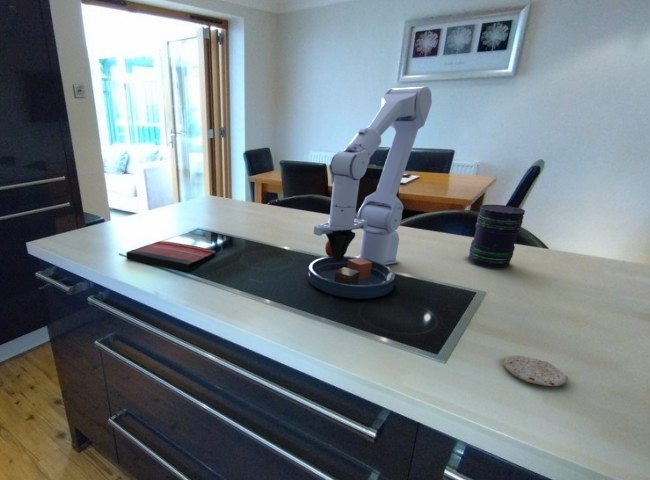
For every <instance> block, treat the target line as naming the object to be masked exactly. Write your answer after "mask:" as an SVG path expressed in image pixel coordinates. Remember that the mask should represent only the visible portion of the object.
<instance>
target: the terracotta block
mask: <svg viewBox="0 0 650 480" xmlns="http://www.w3.org/2000/svg"><path fill="white" fill-rule="evenodd" d="M371 267H372V262H370V261H368V260H365V259H363V258H361V257H360V258H355V259H349V260H348V265H347V268H349V269H353V270H356V271H359V272H360V274H359V280H361V279H365V278H370V274H371Z"/></svg>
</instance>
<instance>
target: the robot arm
mask: <svg viewBox="0 0 650 480" xmlns="http://www.w3.org/2000/svg"><path fill="white" fill-rule="evenodd" d="M432 105H433V99H432V91H431V89H430V87H429V86H427V85H424V86H421V87H420V86H418V87H400V88H394V87H391V88H388V89H387V91H386V92H385V93H384V95H383V96H382V97H381V103H380V108H379V110H378V112H377V113H376V115H375V117H374V118H373V119H372V121H371V123H370V124H369V125H368V126H366V127H362V128H360V129H359V130H358V132H357V133H356V134H355V136H354V137H353V138H352V139H351V141H350V142H348V144H347V146H346V147H345V148H344V150H343V151H341V150H340V151H338V152H337V153H335V154H334V155H333V156H332V158H331V159H330V163H329V165H328V170H329V174H330V177H331V178H330V182H331V185H332V191H331V202H330V212H329V219H328V220H327V222H324V223H321V224H318V225H313V235H316V236H318V237H319V236H323V235H326V237H327V241H328V240H329V242H330V246H331V250H332V256H333V259H334V260H336V261H342V259H343V257H344V256H345V255H346V253H347V251H348V247H349V246H350V244H351V243H352V242H353V240H354V239H355V238H356V232H354V230H360V229H361V230H362V235H361V242H360V248H359V249H360V250H359V255H356V256H354V257H359V258H360V257H361V258H364V259H369V260H373V261H376V262H379V263H381V264H384V265H386V266H387V265H392V264H397V263H399V261H398V260H397V254H398V250H399V249H398V248H399V244H400V243H399V242H400V235H399V234H398V232H397V231H396V230H398V228H399V227H400V225H401V223H402V219H403V218H402V217H403V210H404V205H403V202H402V201H401V200H400V199H399V197H398V195H397V194H398V191H399V188H400V185H401V183H402V179H403V178H404V177H403V176H404V173H405V171H406V168H407V165H408V161H409V159H410V156H411V154H412V153H411V152H412V150H413V147H414V144H415V141H416V138H417V136H418V132H419V129H422V127H424V126H425V124H426V121H427V119H428V117H429V116H428V115H429V113H430V110H431V107H432ZM390 127H391V128H393V129H394V131H395V133H394V136H393V138H392V141H391V145H390V148H389V151H388V153H387V158H386V160H385V163H384V166H383V168H382V172H381V175H380V178H379V181H378V184H377V187H376V190H375V191H374V192H372V193H371V194H369V195H367V196H365V198H364V200H363V202H362V205H361V206H360V208H359V209H358V212H357V219H356V211H357V203H358V195H359V189H360V188H359V187H360V180H361V179H362V178H363V177H364V176H365V174H366V172H367V169H368V165H369V164H370V161H371V160H370V159H371V157H372V156H373V155H374V153H375V152H376V150H377V149H378V148H379V147H380V146H381V144H382V135H383V134H385V132H386V131H387V130H388V129H389V128H390ZM346 250H347V251H346ZM345 252H346V253H345ZM344 254H345V255H344Z"/></svg>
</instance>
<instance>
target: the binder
mask: <svg viewBox="0 0 650 480" xmlns="http://www.w3.org/2000/svg"><path fill="white" fill-rule="evenodd" d="M216 254H217V252H216V250H214V249H210V248H207V247H202V246H198V245H192V244H185V243H179V242H173V241H168V240H167V241H166V240H165V241H163V240H161V241H157V242H153V243H151V244H146V245H144V246H140V247H138V248H135V249H132V250H129V251H127V252H126V255H125V256H126V259H127V260H130V261H134V262H138V263H143V264H149V265H153V266H159V267H162V268H163V267H164V268H168V269H174V270H179V271H184V272H188V273H189V272H191V271H193V270H194V269H195V268H197V267H198V266H200V265H201V264H203V263H204V262H206V261H207V260H209V259H211V258H212V257H214V256H215V255H216Z"/></svg>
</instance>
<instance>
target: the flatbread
mask: <svg viewBox="0 0 650 480" xmlns="http://www.w3.org/2000/svg"><path fill="white" fill-rule="evenodd" d="M502 363H503V366H504V367H505V369H506V370H507V371H508V372H509V373H511V374H512V375H514V376H515V377H517V378H518V379H520V380H522V381H524V382H527V383H530V384H535V385H540V386H546V387H558V386H562V385H564V384H566V383H567V382H568V380H569V377H568V375H565V373H564V372H562V371H561V370H560V369H559V368H557V367H556V366H555V365H553V364H552V363H550V362H549V361H546V360H541V359H538V358H535V357H530V356H524V355H509V356H505V357H504V358H503V359H502Z"/></svg>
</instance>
